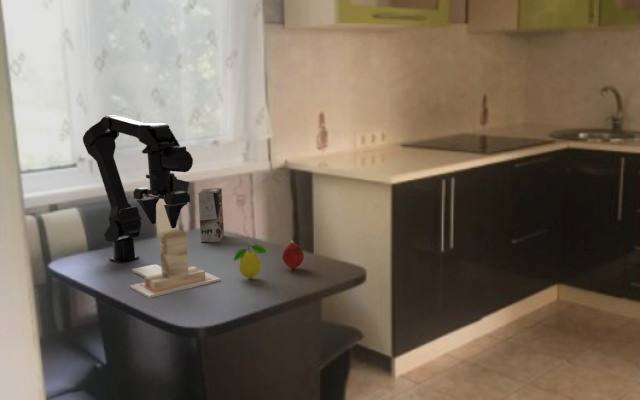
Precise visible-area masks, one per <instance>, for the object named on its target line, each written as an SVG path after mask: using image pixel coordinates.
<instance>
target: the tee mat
mask: <svg viewBox="0 0 640 400" xmlns="http://www.w3.org/2000/svg"><path fill="white" fill-rule="evenodd" d="M131 272H133V273H134V274H137V275H139V276H140V277H142V278H145V277H148V276H152V275H157V274H162V269H161V265H158V264H156V263H154V264H149V265H144V266H140V267H135V268H131ZM217 282H221V278H220V277H218V276H215V275H214V274H211V273H208V272H206V271H205V279H201V280H197V281H193V282H188V283H184V284H180V285H176V286H171V287H167V288H163V289H159V290H154V289H152V288H150V287H148V286H147V285H145V281H143V282H139V283H134V284H131V285H129V288H130V289H132V290H134V291H135V292H137V293H139V294H141V295H142V296H144V297H146V298H147V299H151V298H155V297H159V296H163V295H167V294H171V293H175V292H180V291H184V290H188V289H193V288H196V287H200V286H204V285H207V284H213V283H217Z"/></svg>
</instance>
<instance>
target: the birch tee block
mask: <svg viewBox="0 0 640 400" xmlns="http://www.w3.org/2000/svg"><path fill="white" fill-rule="evenodd" d="M158 240H159V253H160V256H159V257H160V266H161V269H162V274H157V275H152V276H148V277H144V282H145V285H147V286H148V287H150V288H152V289H154V290H159V289H163V288H167V287H171V286H176V285H180V284H184V283H188V282H193V281H197V280H201V279H205V272H206V271H205V270H203V269H201V268H199V267H197V266H194V265H193V266H190V267H189V260H188V248H187V247H188V246H187V244H188V243H187V232H186V231H183V230H180V229H177V228H174V229H171V230H165V231H159V232H158Z"/></svg>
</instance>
